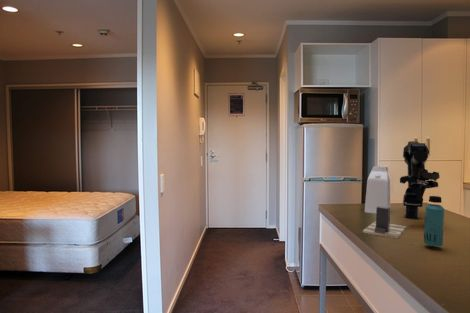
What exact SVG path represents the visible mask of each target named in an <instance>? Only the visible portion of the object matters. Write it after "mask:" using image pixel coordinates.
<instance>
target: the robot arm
mask: <svg viewBox="0 0 470 313" xmlns="http://www.w3.org/2000/svg"><path fill="white" fill-rule="evenodd" d="M429 154H430V149H429V148H428V145H427V144H426V143H425V142H419V141H416V140H415V141H413V140H412V141H408V142H407V144H406V145H405V146H404V147H403V151H402V158H403V159H404V160H403V161H404V163H405V164H406V166H407V175H403V176H400V178H399V183H400V184H406V183H407V188H406V190H405V192H404V194H403V198H402V205H403V207H405V214H404V218H407V219H415V220H419V219H420V217H419V215H418V214H419V208H423V203H424V198H423V197H424V194H425V191H426V189H434V188H439V182H438V180H439V179H440V172H437V171H432V172H429V170H428V169H426V166H425V163H426V162H427V161H428V159H429Z"/></svg>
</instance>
